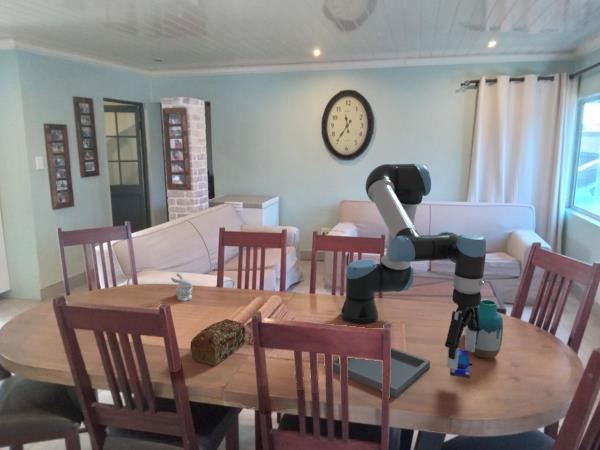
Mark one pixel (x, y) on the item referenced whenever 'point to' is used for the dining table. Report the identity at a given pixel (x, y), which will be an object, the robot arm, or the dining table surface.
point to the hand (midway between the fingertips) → (461, 359)
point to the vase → (488, 330)
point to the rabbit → (183, 288)
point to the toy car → (462, 365)
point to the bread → (217, 342)
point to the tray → (402, 371)
